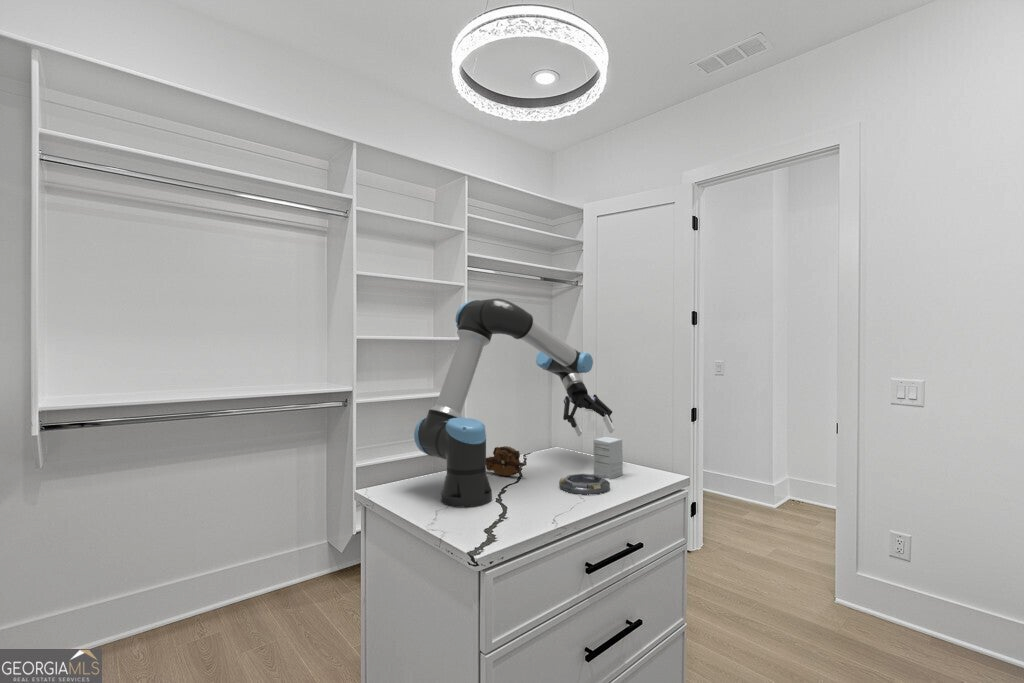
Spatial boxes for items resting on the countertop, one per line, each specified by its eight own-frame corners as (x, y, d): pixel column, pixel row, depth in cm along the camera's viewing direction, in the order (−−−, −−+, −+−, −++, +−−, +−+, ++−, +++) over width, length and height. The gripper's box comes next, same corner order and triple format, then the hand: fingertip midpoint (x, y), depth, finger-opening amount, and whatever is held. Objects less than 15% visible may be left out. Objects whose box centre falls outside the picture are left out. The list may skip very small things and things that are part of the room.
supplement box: (606, 471, 179) (605, 436, 179) (623, 475, 173) (623, 439, 173) (593, 475, 174) (592, 439, 174) (610, 479, 168) (610, 442, 168)
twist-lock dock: (575, 497, 149) (575, 488, 149) (550, 483, 164) (550, 475, 164) (620, 491, 155) (619, 482, 155) (592, 478, 170) (592, 470, 170)
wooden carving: (480, 474, 177) (480, 445, 177) (487, 471, 181) (487, 443, 181) (521, 480, 168) (521, 450, 168) (527, 477, 172) (527, 448, 172)
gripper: (598, 392, 203) (620, 435, 189) (543, 395, 193) (562, 441, 179) (605, 380, 198) (629, 423, 184) (549, 382, 188) (570, 429, 174)
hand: (596, 432), depth 181 cm, fingers open, 13 cm apart
